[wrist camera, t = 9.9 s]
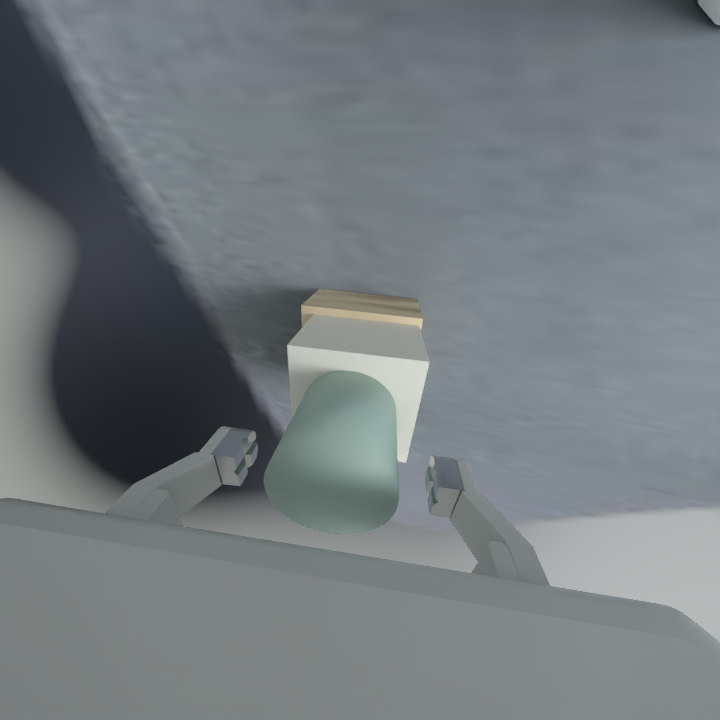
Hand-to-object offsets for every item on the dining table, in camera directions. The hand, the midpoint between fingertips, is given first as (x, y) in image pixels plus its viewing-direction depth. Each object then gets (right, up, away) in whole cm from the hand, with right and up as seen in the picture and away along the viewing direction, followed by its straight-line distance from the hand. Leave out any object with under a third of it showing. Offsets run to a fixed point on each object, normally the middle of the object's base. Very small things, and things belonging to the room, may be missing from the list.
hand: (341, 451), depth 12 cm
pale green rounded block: (0, +1, +2) cm, 3 cm away
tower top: (+1, +4, +7) cm, 8 cm away
